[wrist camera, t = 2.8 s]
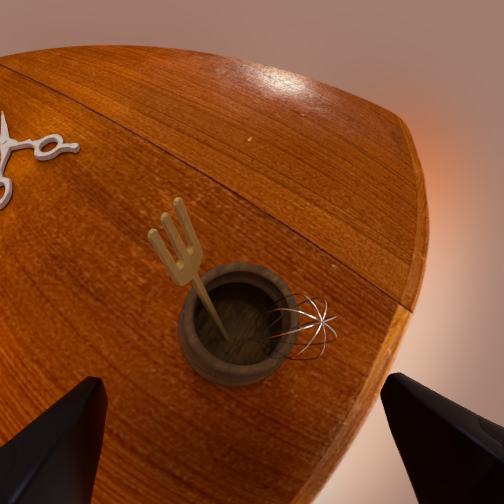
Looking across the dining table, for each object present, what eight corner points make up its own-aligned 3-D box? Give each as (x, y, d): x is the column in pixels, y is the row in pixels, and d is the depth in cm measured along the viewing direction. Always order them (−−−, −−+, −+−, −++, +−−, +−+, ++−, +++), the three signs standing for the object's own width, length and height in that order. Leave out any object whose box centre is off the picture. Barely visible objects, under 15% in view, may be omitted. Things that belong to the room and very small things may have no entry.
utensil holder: (249, 401, 17) (325, 425, 6) (161, 353, 17) (97, 301, 6) (288, 323, 19) (389, 240, 9) (206, 279, 20) (216, 149, 9)
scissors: (-4, 220, 18) (-38, 142, 20) (0, 225, 18) (-35, 146, 21) (79, 145, 22) (19, 94, 25) (81, 150, 23) (20, 98, 26)
